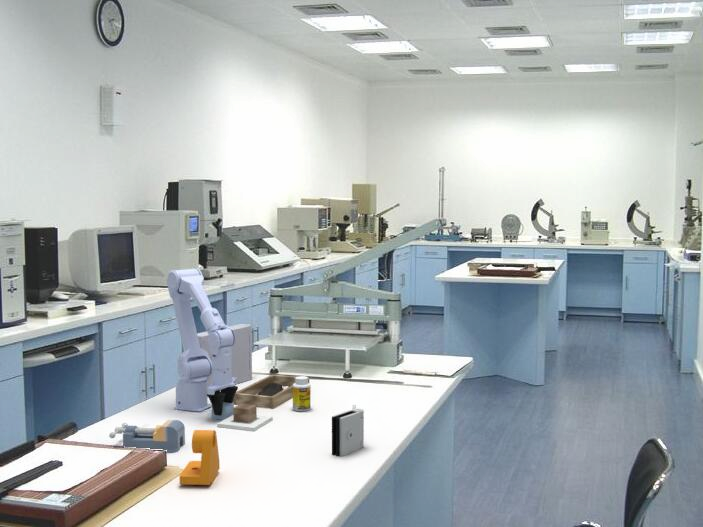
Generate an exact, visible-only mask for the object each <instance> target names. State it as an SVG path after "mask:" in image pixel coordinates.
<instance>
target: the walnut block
mask: <svg viewBox="0 0 703 527" xmlns="http://www.w3.org/2000/svg"><path fill="white" fill-rule="evenodd" d="M257 415H258V414H257V407H256V405H251V404H240V405H236V406H234V408H233V419H234V421H236V422H245V423H249V422H251V421H253V420H255V419H256V418H257Z"/></svg>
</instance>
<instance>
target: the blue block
mask: <svg viewBox="0 0 703 527" xmlns="http://www.w3.org/2000/svg"><path fill="white" fill-rule="evenodd" d="M234 407H235V405H234V403H225V402H223V409H222V415H220V416H219V415H215V414H214V411H213V407H212V406H211V407H210V409H211V411H210V412H211V419H212V420H220V421H223V420H225V419H226V418H228V417H230V416H232V415H233V408H234Z"/></svg>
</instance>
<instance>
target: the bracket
mask: <svg viewBox="0 0 703 527" xmlns="http://www.w3.org/2000/svg"><path fill="white" fill-rule="evenodd" d="M217 436H218V435H217V431H216V430H215V429H194V430H193V433H192V438H191V450H192V453H193V454H201V457H200V460H191V461H189V462H188V463H187V464H186V465H185V467H184V469H183V470H182V471H181V472H180V474H179V484H180V485H194V486H195V485H199V486H200V485H201V486H209V485H213V484H214V481H215V480H216V479H217V476H218V472H219V470H220V469H221V468H220V455H219V454H220V453H219V446H218V438H217Z"/></svg>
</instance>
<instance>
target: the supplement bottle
mask: <svg viewBox="0 0 703 527" xmlns="http://www.w3.org/2000/svg"><path fill="white" fill-rule="evenodd" d="M295 377H296V378H295V383H294V384H293V398H292V409H293V410H294V411H295V412H307V411H309V410H310V409H311V383H310V382H309V383H308V378H309V377H308V376H304V375H303V376H302V375H301V376H295Z"/></svg>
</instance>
